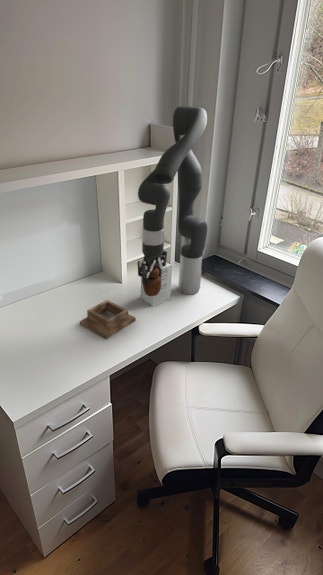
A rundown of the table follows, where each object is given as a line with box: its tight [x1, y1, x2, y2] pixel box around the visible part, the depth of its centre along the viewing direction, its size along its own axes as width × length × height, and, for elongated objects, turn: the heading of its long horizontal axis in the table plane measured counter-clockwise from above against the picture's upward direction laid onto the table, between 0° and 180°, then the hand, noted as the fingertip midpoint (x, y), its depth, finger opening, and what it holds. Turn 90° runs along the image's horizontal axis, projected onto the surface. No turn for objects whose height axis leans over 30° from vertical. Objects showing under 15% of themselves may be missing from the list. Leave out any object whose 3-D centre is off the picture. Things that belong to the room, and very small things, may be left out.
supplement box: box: [140, 260, 173, 307], centre depth 170 cm, size 10×9×17 cm
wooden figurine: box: [143, 266, 161, 296], centre depth 150 cm, size 7×6×15 cm
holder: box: [79, 299, 137, 340], centre depth 156 cm, size 16×14×6 cm
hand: (152, 281), depth 151 cm, fingers closed on wooden figurine, 6 cm apart
